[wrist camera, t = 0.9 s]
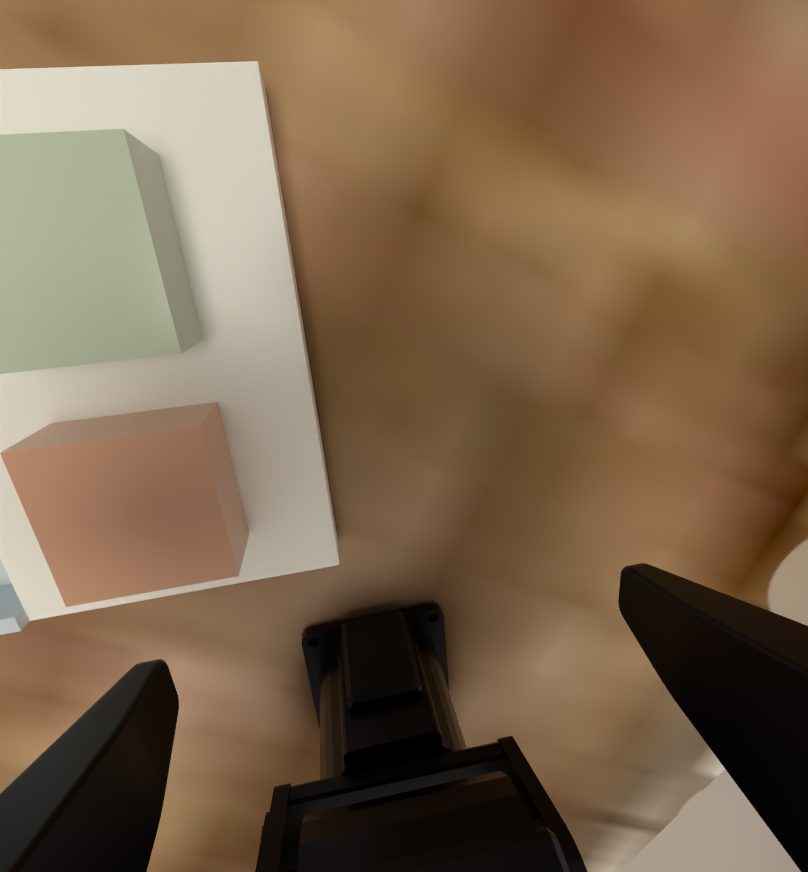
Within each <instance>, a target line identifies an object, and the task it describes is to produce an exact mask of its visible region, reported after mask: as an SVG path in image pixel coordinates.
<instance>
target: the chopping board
mask: <svg viewBox="0 0 808 872" xmlns="http://www.w3.org/2000/svg"><path fill="white" fill-rule="evenodd" d="M107 129H125V130H126V131H127V132H129V133H130V134H131V135H133V136H134V137H135V138H137V139H138V140H140V141H141V142H142V143H144V144H145V145H146V146H148V147H149V148H151V149H152V150H153V151H155V152H156V153H157V154H159V157H160V161H161V166H162V170H163V174H164V178H165V182H166V186H167V191H168V195H169V199H170V203H171V207H172V212H173V216H174V220H175V224H176V228H177V233H178V237H179V241H180V245H181V249H182V254H183V258H184V262H185V266H186V270H187V275H188V279H189V283H190V287H191V291H192V296H193V300H194V304H195V308H196V312H197V316H198V321H199V325H200V329H201V333H202V337H203V340H202V341H201V342H199V343H197V344H196V345H194V346H193V347H191V348H189V349H188V350H186V351H185V352H183V353H181V354H173V355H165V356H156V357H147V358H138V359H129V360H120V361H111V362H103V363H94V364H85V365H76V366H67V367H58V368H49V369H41V370H32V371H23V372H14V373H5V374H0V452H2V451H4V450H6V449H7V448H9V447H11V446H13V445H14V444H16V443H18V442H19V441H21V440H23V439H25V438H26V437H28V436H30V435H31V434H33V433H35V432H37V431H38V430H40V429H42V428H43V427H45V426H47V425H49V424H50V423H56V422H64V421H72V420H80V419H88V418H96V417H103V416H111V415H119V414H127V413H135V412H143V411H150V410H158V409H166V408H174V407H182V406H190V405H197V404H205V403H213V402H218V405H219V409H220V413H221V417H222V421H223V426H224V430H225V434H226V438H227V442H228V446H229V451H230V455H231V459H232V463H233V467H234V472H235V476H236V480H237V484H238V488H239V493H240V497H241V501H242V505H243V509H244V514H245V518H246V522H247V526H248V530H249V537H248V541H247V545H246V549H245V553H244V557H243V561H242V565H241V569H240V573H239V576H238V577H232V578H226V579H221V580H215V581H209V582H204V583H198V584H193V585H187V586H181V587H176V588H170V589H165V590H159V591H153V592H148V593H142V594H137V595H131V596H125V597H120V598H114V599H109V600H103V601H97V602H92V603H86V604H80V605H75V606H69V607H66V606H65V604H64V601H63V599H62V597H61V594H60V592H59V590H58V587H57V585H56V583H55V580H54V578H53V576H52V573H51V571H50V569H49V566H48V564H47V562H46V559H45V557H44V555H43V552H42V550H41V548H40V545H39V543H38V541H37V538H36V536H35V534H34V531H33V529H32V527H31V524H30V522H29V520H28V517H27V515H26V513H25V510H24V508H23V506H22V503H21V501H20V499H19V496H18V494H17V492H16V489H15V487H14V485H13V482H12V480H11V478H10V475H9V473H8V471H7V469H6V466H5V464H4V462H3V459H2V457H1V455H0V560H1V562H2V564H3V566H4V568H5V570H6V572H7V574H8V577H9V579H10V581H11V583H12V585H13V587H14V589H15V591H16V594H17V596H18V598H19V600H20V602H21V604H22V606H23V608H24V611H25V613H26V615H27V617H28V619H29V621H31V620H37V619H42V618H48V617H54V616H59V615H65V614H70V613H76V612H81V611H87V610H92V609H98V608H103V607H109V606H115V605H120V604H126V603H131V602H137V601H142V600H148V599H153V598H159V597H164V596H170V595H176V594H181V593H187V592H192V591H198V590H203V589H209V588H214V587H220V586H225V585H231V584H237V583H242V582H248V581H253V580H259V579H264V578H270V577H275V576H281V575H287V574H292V573H298V572H303V571H309V570H314V569H320V568H325V567H331V566H336V565H339V553H338V540H337V532H336V526H335V520H334V514H333V508H332V501H331V495H330V489H329V483H328V476H327V470H326V464H325V458H324V452H323V445H322V439H321V433H320V427H319V420H318V414H317V408H316V402H315V396H314V389H313V383H312V377H311V371H310V364H309V358H308V352H307V346H306V340H305V333H304V327H303V321H302V315H301V308H300V302H299V296H298V290H297V284H296V277H295V271H294V265H293V259H292V252H291V246H290V240H289V234H288V228H287V221H286V215H285V209H284V203H283V196H282V190H281V184H280V178H279V171H278V165H277V159H276V153H275V147H274V140H273V134H272V128H271V122H270V115H269V109H268V103H267V97H266V91H265V86H264V83H263V79H262V75H261V72H260V68H259V65H258V61H250V62H218V63H186V64H155V65H123V66H91V67H59V68H27V69H0V135H4V134H25V133H45V132H66V131H86V130H107Z"/></svg>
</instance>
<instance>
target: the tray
mask: <svg viewBox="0 0 808 872" xmlns="http://www.w3.org/2000/svg"><path fill="white" fill-rule="evenodd" d="M28 622H29V619H28V617H27V615H26V613H25V611H24V608H23V606H22V604H21V602H20V600H19V598H18V596H17V594H16V591H15V589H14V587H13V585H12V583H11V581H10V579H9V577H8V574H7V572H6V570H5V568H4V566H3V564H2V562H1V560H0V635H2V634H8V633H13V632H19V631H21V630H22V629H23V628H24V627H25V626H26V624H27V623H28Z"/></svg>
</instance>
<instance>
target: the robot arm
mask: <svg viewBox="0 0 808 872" xmlns="http://www.w3.org/2000/svg"><path fill="white" fill-rule="evenodd" d="M619 608H620V611H621V614H622V616H623V618H624V619H625V621H626V623H627V624H628V626H629V628H630V629H631V631H632V633H633V634H634V636H635V637H636V639H637V641H638V642H639V644H640V646H641V647H642V649H643V651H644V652H645V654H646V656H647V657H648V659H649V661H650V662H651V664H652V666H653V667H654V669H655V670H656V672H657V674H658V675H659V677H660V679H661V680H662V682H663V683H664V685H665V686H666V688H667V690H668V691H669V693H670V694H671V695H672V697H673V698H674V700H675V701H676V702H677V704H678V705H679V707H680V708H681V709H682V711H683V712H684V713H685V715H686V716H687V717H688V719H689V720H690V722H691V723H692V724H693V726H694V727H695V728H696V730H697V731H698V732H699V734H700V735H701V736H702V738H703V739H704V740H705V742H706V743H707V745H708V746H709V747H710V749H711V750H712V751H713V753H714V754H715V755H716V757H717V758H718V759H719V761H720V762H721V764H722V765H723V766H724V768H725V769H726V770H727V772H728V773H729V774H730V776H731V777H732V778H733V780H734V781H735V782H736V784H737V785H738V787H739V788H740V789H741V791H742V792H743V793H744V795H745V796H746V797H747V799H748V800H749V801H750V803H751V804H752V805H753V807H754V808H755V810H756V811H757V812H758V814H759V815H760V816H761V818H762V819H763V820H764V822H765V823H766V825H767V826H768V827H769V829H770V830H771V831H772V833H773V834H774V835H775V837H776V838H777V839H778V841H779V842H780V843H781V845H782V846H783V848H784V849H785V850H786V852H787V853H788V854H789V856H790V857H791V858H792V860H793V861H794V862H795V864H796V865H797V867H798V868H799V869H800V871H801V872H808V626H806V625H804V624H801V623H799V622H796V621H793V620H791V619H788V618H786V617H783V616H780V615H778V614H775V613H773V612H770V611H768V610H765V609H762V608H760V607H757V606H755V605H752V604H749V603H747V602H744V601H742V600H739V599H736V598H734V597H731V596H729V595H726V594H724V593H721V592H718V591H716V590H713V589H711V588H708V587H705V586H703V585H700V584H698V583H695V582H692V581H690V580H687V579H685V578H682V577H679V576H677V575H674V574H672V573H669V572H667V571H664V570H661V569H659V568H656V567H654V566H651V565H648V564H645V563H641V564H635V565H630V566H626V567H624V568H623V569H622V571H621V577H620V590H619ZM431 614H435V615H434V616H429V615H431ZM310 638H317V639H315V640H310ZM302 647H303V652H304V657H305V661H306V666H307V671H308V676H309V680H310V685H311V690H312V694H313V699H314V704H315V709H316V713H317V718H318V723H319V727H320V780H318V781H313V782H309V783H304V784H299V785H295V786H291V784H285V785H280V786H276V787H274V791H273V797H272V803H271V808H270V812H266V816H265V822H264V826H263V827H262V834H261V844H260V849H259V855H258V860H257V866H256V871H255V872H587V870H586V867H585V865H584V862H583V859H582V857H581V855H580V853H579V850H578V848H577V846H576V844H575V841H574V839H573V837H572V836H571V834H570V832H569V830H568V828H567V826H566V824H565V823H564V821H563V819H562V818H561V816H560V815H559V813H558V811H557V810H556V808H555V806H554V805H553V803H552V801H551V800H550V798H549V796H548V795H547V793H546V791H545V790H544V788H543V786H542V785H541V783H540V781H539V780H538V778H537V776H536V775H535V773H534V771H533V770H532V768H531V766H530V765H529V763H528V761H527V760H526V758H525V757H524V755H523V753H522V752H521V750H520V748H519V747H518V745H517V743H516V742H515V740H514V738H513V737H512V736H509V737H505V738H500V739H498V740H497V742H495V743H490V744H485V745H481V746H476V747H471V748H466V745H465V742H464V738H463V735H462V732H461V729H460V726H459V723H458V719H457V716H456V713H455V710H454V707H453V704H452V700H451V697H450V694H449V686H448V672H447V657H446V643H445V629H444V616H443V613H442V610H441V607H440V606H439V605H438V604H435V603H432V604H426V605H420V606H415V607H410V608H405V609H400V610H395V611H390V612H385V613H380V614H375V615H370V616H365V617H360V618H354V619H349V620H344V621H339V622H334V623H329V624H324V625H319V626H314V627H310V628H307V629H306V630H305V631H304V632H303V634H302ZM178 710H179V700H178V695H177V691H176V688H175V686H174V683H173V680H172V677H171V674H170V671H169V668H168V665H167V663H166V662H165V661H164V660H161V659H158V660H153V661H148V662H142V663H139V664H137V665H135V666H134V667H133V668H131V669H130V670H129V671H128V672H127V673H126V674H125V675H124V676H123V677H122V678H121V679H120V680H119V681H118V682H117V683H116V684H115V685H114V686H113V687H111V688H110V689H109V690H108V691H107V692H106V693H105V694H104V695H103V696H102V697H101V698H100V699H99V700H98V701H97V702H96V703H95V704H94V705H93V706H92V707H91V708H90V709H88V710H87V711H86V712H85V713H84V714H83V715H82V716H81V717H80V718H79V719H78V720H77V721H76V722H75V723H74V724H73V725H72V726H71V727H70V728H69V729H68V730H66V731H65V732H64V733H63V734H62V735H61V736H60V737H59V738H58V739H57V740H56V741H55V742H54V743H53V744H52V745H51V746H50V747H49V748H48V749H47V750H46V751H45V752H43V753H42V754H41V755H40V756H39V757H38V758H37V759H36V760H35V761H34V762H33V763H32V764H31V765H30V766H29V767H28V768H27V769H26V770H25V771H24V772H23V773H22V774H20V775H19V776H18V777H17V778H16V779H15V780H14V781H13V782H12V783H11V784H10V785H9V786H8V787H7V788H6V789H5V790H4V791H3V792H2V793H1V794H0V872H146V871H147V867H148V864H149V860H150V856H151V852H152V848H153V845H154V841H155V837H156V833H157V829H158V825H159V821H160V817H161V812H162V807H163V801H164V796H165V790H166V784H167V777H168V771H169V765H170V759H171V753H172V747H173V741H174V735H175V729H176V722H177V716H178Z"/></svg>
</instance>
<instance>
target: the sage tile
mask: <svg viewBox="0 0 808 872" xmlns="http://www.w3.org/2000/svg"><path fill="white" fill-rule="evenodd" d="M202 340H203V337H202V333H201V329H200V325H199V321H198V316H197V312H196V308H195V304H194V300H193V296H192V291H191V287H190V283H189V279H188V275H187V270H186V266H185V262H184V258H183V254H182V249H181V245H180V241H179V237H178V233H177V228H176V224H175V220H174V216H173V212H172V207H171V203H170V199H169V195H168V191H167V186H166V182H165V178H164V174H163V170H162V166H161V161H160V157H159V154H157V153H156V152H155V151H153V150H152V149H151V148H149V147H148V146H146V145H145V144H144V143H142V142H141V141H140V140H138V139H137V138H135V137H134V136H133V135H131V134H130V133H129V132H127V131H126V130H125V129H107V130H86V131H66V132H45V133H25V134H4V135H0V374H5V373H14V372H23V371H32V370H41V369H49V368H58V367H67V366H76V365H85V364H94V363H103V362H111V361H120V360H129V359H138V358H147V357H156V356H165V355H173V354H181V353H183V352H185V351H186V350H188V349H189V348H191V347H193V346H194V345H196V344H197V343H199V342H201V341H202Z"/></svg>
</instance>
